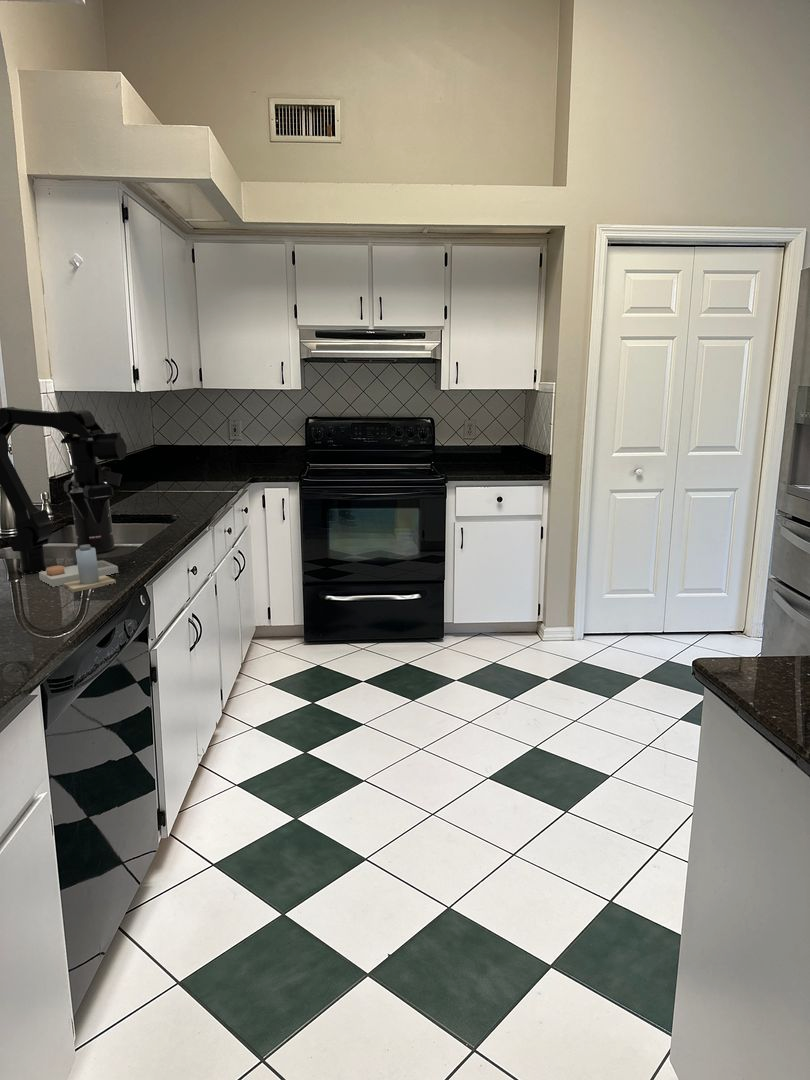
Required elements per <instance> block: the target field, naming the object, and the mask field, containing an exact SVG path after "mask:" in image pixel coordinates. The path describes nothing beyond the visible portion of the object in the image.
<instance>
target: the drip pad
mask: <svg viewBox="0 0 810 1080" xmlns="http://www.w3.org/2000/svg"><path fill="white" fill-rule="evenodd" d="M113 583H115V584H116V583H117V581H116V579H114V578H111V577H110V576H106V575H103V576H99V582H97V583H93V584H80V580H78V581H73V582H68V583H64V584H63V585H62V586H63V588H65V589H67V590H68V591H70V592H72V593H78V592H82V591H86V590H92V589H96V588H100V587H105V585H106V586H109V584H111V585H114V584H113Z"/></svg>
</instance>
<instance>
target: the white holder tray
mask: <svg viewBox="0 0 810 1080" xmlns="http://www.w3.org/2000/svg"><path fill="white" fill-rule="evenodd" d="M97 566H98V573H99V576H103V575H111V574H114V573H119V567H118V565H116V564H113V563H111V562H110V561H109V562H108V561H106V560H104V559H102V560H97ZM63 573H64V574H60V575H55V576H49V575H48V574H47V572H46V570H45V571H40V572H38V576H39V581H41V580H42V581H41V582H43V583H44V582H45V584H46V583H47V585H48V584H49V585H48V586H50V587H51V586H52V588H56V587H55V586H57V587H61V586H60V585H62V586H63V584H64V583H68V582H73V581H78V580H79V573H78V566H77V564H75V565H74V564H73V565H69V566H64V572H63ZM111 576H112V575H111Z"/></svg>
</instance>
